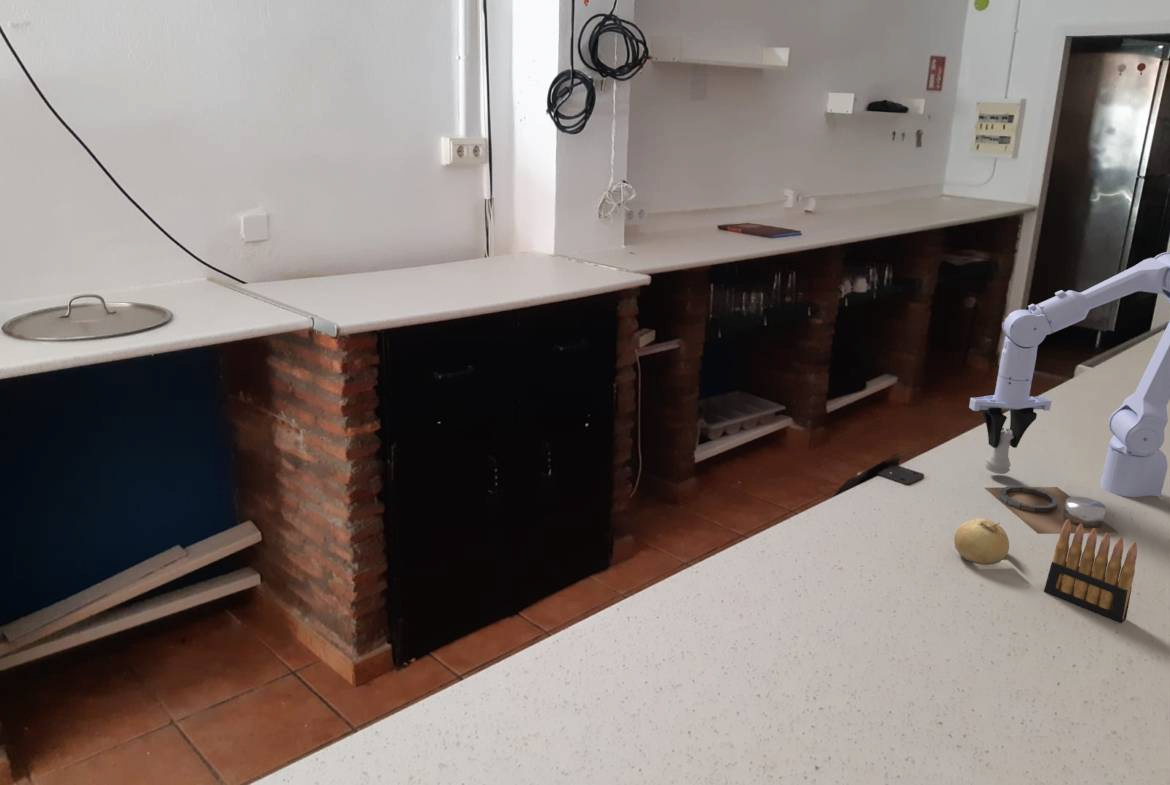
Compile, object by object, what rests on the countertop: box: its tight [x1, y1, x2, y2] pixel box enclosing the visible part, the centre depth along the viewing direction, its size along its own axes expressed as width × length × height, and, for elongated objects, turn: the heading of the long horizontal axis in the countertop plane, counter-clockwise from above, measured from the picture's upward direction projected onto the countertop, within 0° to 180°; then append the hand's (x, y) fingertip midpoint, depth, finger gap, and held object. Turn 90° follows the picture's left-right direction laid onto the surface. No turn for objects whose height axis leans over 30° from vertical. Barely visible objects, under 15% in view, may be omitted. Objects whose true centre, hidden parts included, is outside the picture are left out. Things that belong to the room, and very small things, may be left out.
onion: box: [953, 517, 1010, 566], centre depth 143 cm, size 8×8×7 cm
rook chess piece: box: [984, 427, 1014, 475], centre depth 171 cm, size 4×4×8 cm
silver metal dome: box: [1063, 496, 1107, 528], centre depth 155 cm, size 6×6×3 cm
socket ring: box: [1000, 485, 1057, 513], centre depth 162 cm, size 9×9×1 cm
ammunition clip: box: [1043, 519, 1138, 624], centre depth 130 cm, size 11×2×12 cm, turn 41°
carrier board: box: [984, 486, 1119, 535], centre depth 160 cm, size 14×18×1 cm
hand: (1002, 445), depth 171 cm, fingers closed on rook chess piece, 3 cm apart
